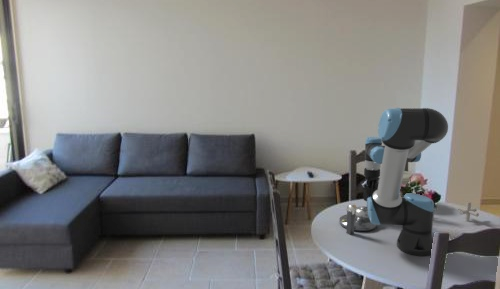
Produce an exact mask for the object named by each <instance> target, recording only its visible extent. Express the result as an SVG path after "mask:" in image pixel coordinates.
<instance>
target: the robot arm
mask: <svg viewBox="0 0 500 289" xmlns="http://www.w3.org/2000/svg"><path fill="white" fill-rule="evenodd" d="M448 131H449V123H448V121H447V118H446V117H445V116H444V114H442V113H441V112H440V111H438V110H435V109H433V108H428V107H423V108H420V107H419V108H407V107H406V108H400V107H396V108H395V107H394V108H387V109H385V110H383V112H382V114H381V115H380V119H379V121H378V130H377V134H378V136H368V137H366V138H365V145H364V146H365V147H364V168H363V169H364V170H363V176H364V182H363V183H362V182H361V183H360V186H361V190H362V194H363V201H365V202H366V207H367V208H368V215H369V219H370V222H371V223H372V224H374V225H377V226H402V228H401V231H400V233H399V235H398V236H397V239H396V247H397V248H398V249H399V250H400V251H401V252H403V253H406V254H408V255H412V256H416V257H427V256H428V257H429V256H431V249H432V243H433V239H434V235H433V222H434V214H435V202H434V201H433V199H431V198H430V197H428V196H426V195H423V194H422V195H420V194H415V193H406V194H405V195H404V198H402V197H401V196H400V194H399V193H400V189H401V184H402V179H403V175H404V171H406V170H405V169H406V164H407V163H419V162H420V161H421V158H422V153H423V151H425V150H427V148H429V147H430V146H431V145H433V144H436V143H438V142H440V141H442V140H443V139H444V138H445V137H446V136H447V134H448Z"/></svg>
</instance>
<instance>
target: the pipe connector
mask: <svg viewBox="0 0 500 289" xmlns="http://www.w3.org/2000/svg"><path fill="white" fill-rule="evenodd" d="M457 209H458V211H459V214H460V215H465V220H464V221H465V222H467V223H468V222H470V220H471V217H470V216H471V215H472V216H473V217H474V216H475V217H480V216H479V215H480V214H479V213H478V212H477V210H478V209H477V208H476V207H473V208H472V201H466V208H465V207H463V206H458V208H457Z"/></svg>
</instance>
